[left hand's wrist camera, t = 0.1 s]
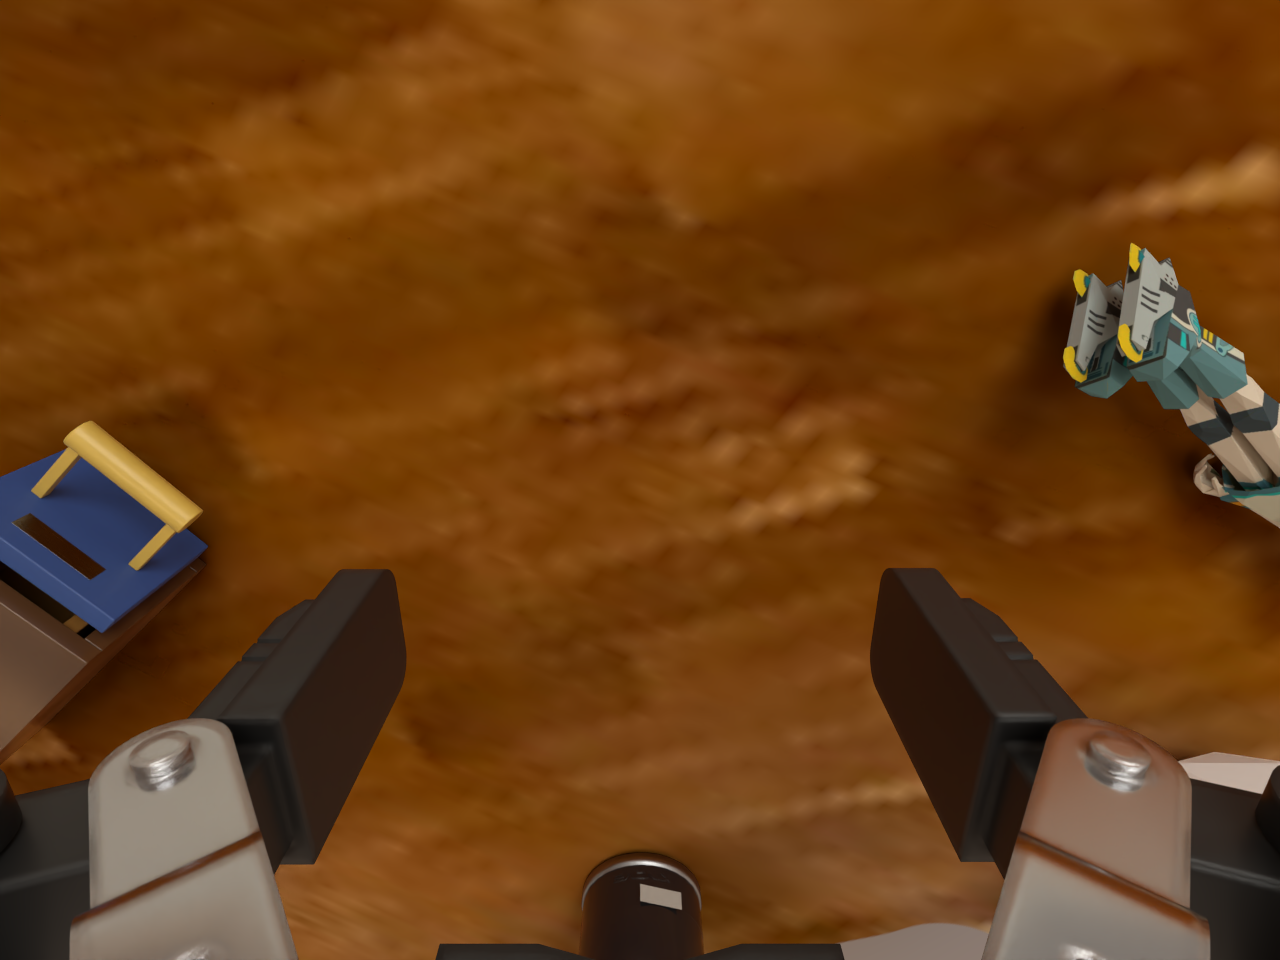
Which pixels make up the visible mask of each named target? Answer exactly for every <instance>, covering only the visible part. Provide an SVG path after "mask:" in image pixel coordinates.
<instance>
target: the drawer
mask: <svg viewBox="0 0 1280 960" xmlns="http://www.w3.org/2000/svg"><path fill="white" fill-rule="evenodd" d="M63 442H64V444H65V445H67V446H68V448H67V449H65V450H63V451H61V452H58V453H56V454H54V455H51V456H49V457H46V458H44V459H42V460H39V461H37V462H35V463H32V464H30V465H28V466H25V467H23V468H21V469H18V470H16V471H13V472H11V473H9V474H6V475H4V476H2V477H0V580H2V581H3V582H4V583H6V584H7V585H9V586H10V587H12V588H13V589H14V590H16V591H17V592H19V593H20V594H21V595H23V596H24V597H26V598H27V599H29V600H30V601H31V602H33V603H34V604H36V605H37V606H38V607H40V608H41V609H43V610H44V611H46V612H47V613H48V614H50V615H51V616H53V617H54V618H55V619H57V620H58V621H60V622H61V623H63V624H64V625H65V626H67V627H68V628H70V629H71V630H72V631H74V632H75V633H77V634H78V635H80V636H81V637H82V638H86V637H87V636H88V635H89V634H91V633H92V632H93V631H95V630H96V629H97V630H98V631H99V632H101V633H103V632H105V631H106V630H107V629H109V628H110V627H111V626H112V625H114V624H115V623H116V622H117V621H119V620H120V619H121V618H122V617H124V616H125V615H126V614H127V613H129V612H130V611H131V610H132V609H134V608H135V607H136V606H137V605H139V604H140V603H141V602H143V601H144V600H145V599H146V598H148V597H149V596H150V595H151V594H153V593H154V592H155V591H156V590H158V589H159V588H160V587H161V586H163V585H164V584H165V583H166V582H168V581H169V580H170V579H171V578H173V577H174V576H175V575H176V574H178V573H179V572H180V571H181V570H183V569H184V568H185V567H186V566H188V565H189V564H190V563H191V562H193V561H194V560H195V559H197V558H198V557H199V556H200V555H201V554H202V553H203V552H204V551H205V550H206V549H207V548H208V545H206V544H205V543H204V542H203V541H201V540H200V539H199V538H198V537H196V536H195V535H194V534H193V533H191V532H190V531H189V530H188V529H186V528H187V527H188V526H190V525H191V524H192V523H193V522H194V521H195V520H196V519H197V518H198V517H199V516H200V515H201V514H202V513H203V510H202V509H201V508H200V507H199V506H197V505H196V504H195V503H194V502H192V501H191V500H190V499H189V498H187V497H186V496H185V495H184V494H182V493H181V492H180V491H179V490H177V489H176V488H175V487H174V486H173V485H171V484H170V483H169V482H168V481H166V480H165V479H164V478H163V477H161V476H160V475H159V474H158V473H156V472H155V471H154V470H153V469H151V468H150V467H149V466H148V465H147V464H145V463H144V462H143V461H142V460H140V459H139V458H138V457H137V456H135V455H134V454H133V453H132V452H130V451H129V450H128V449H127V448H125V447H124V446H123V445H122V444H121V443H119V442H118V441H117V440H116V439H114V438H113V437H112V436H111V435H109V434H108V433H107V432H106V431H104V430H103V429H102V428H101V427H100V426H98V425H97V424H96V423H95V422H93V421H88V422H86V423H83V424H81V425H80V426H78V427H77V428H75V429H74V430H73V431H71V432H70V433H69V434H68V435H67V436H66V438H65V439H64V441H63Z"/></svg>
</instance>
